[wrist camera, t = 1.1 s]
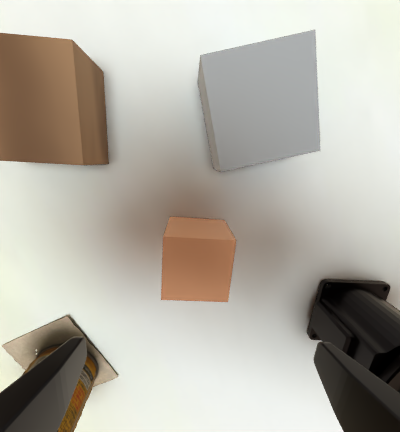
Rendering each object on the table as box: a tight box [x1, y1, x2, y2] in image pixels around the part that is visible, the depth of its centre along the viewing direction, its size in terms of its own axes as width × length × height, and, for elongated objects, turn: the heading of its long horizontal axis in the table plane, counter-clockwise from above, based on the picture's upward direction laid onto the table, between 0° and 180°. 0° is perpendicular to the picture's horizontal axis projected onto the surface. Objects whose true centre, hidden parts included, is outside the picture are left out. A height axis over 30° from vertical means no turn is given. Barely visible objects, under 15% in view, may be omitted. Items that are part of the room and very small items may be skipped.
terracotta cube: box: [161, 217, 236, 302], centre depth 15 cm, size 4×4×4 cm
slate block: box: [198, 30, 320, 172], centre depth 13 cm, size 6×6×4 cm
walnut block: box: [0, 33, 109, 165], centre depth 13 cm, size 6×6×4 cm
